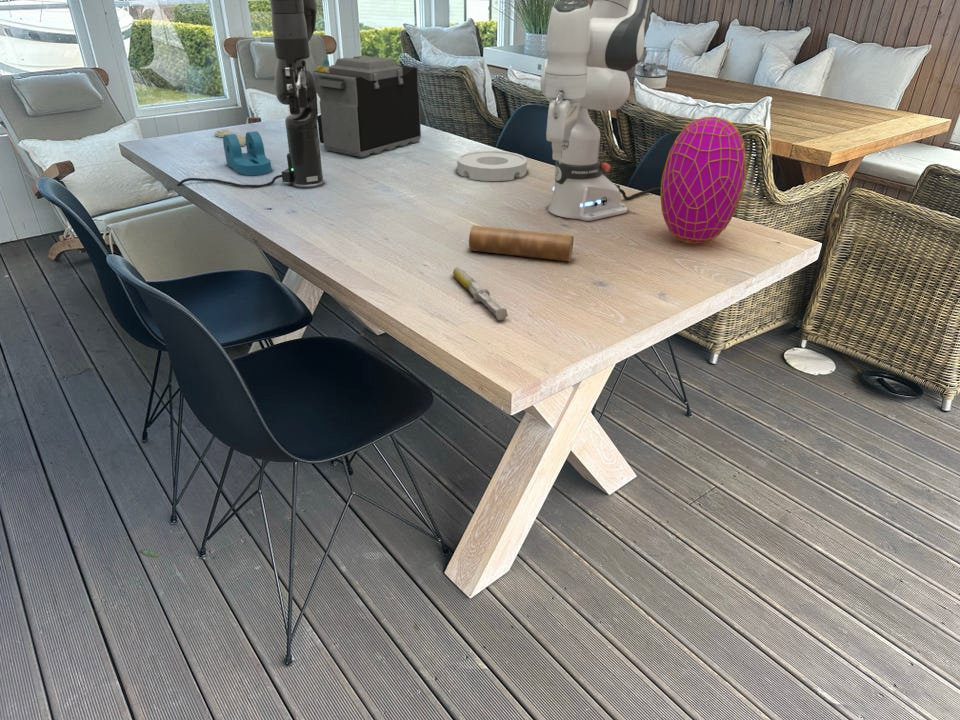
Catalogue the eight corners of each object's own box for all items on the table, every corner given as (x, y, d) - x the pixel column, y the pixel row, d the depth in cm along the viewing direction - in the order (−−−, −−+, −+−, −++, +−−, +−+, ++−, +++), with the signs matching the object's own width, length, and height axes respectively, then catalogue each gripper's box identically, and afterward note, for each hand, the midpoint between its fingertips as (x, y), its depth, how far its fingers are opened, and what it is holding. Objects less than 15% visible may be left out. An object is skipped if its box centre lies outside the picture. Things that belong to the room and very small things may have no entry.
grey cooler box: (383, 133, 276) (378, 52, 261) (425, 141, 265) (422, 56, 250) (314, 150, 251) (304, 61, 235) (358, 160, 240) (350, 67, 224)
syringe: (449, 274, 155) (449, 263, 153) (465, 272, 156) (464, 260, 154) (490, 323, 135) (491, 310, 133) (508, 319, 136) (508, 307, 134)
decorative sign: (264, 139, 260) (239, 143, 254) (265, 142, 261) (240, 146, 255) (233, 128, 277) (209, 131, 271) (233, 130, 277) (209, 134, 271)
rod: (468, 254, 166) (468, 230, 163) (475, 245, 171) (475, 222, 168) (568, 265, 160) (570, 241, 157) (572, 256, 165) (574, 232, 162)
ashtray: (459, 161, 239) (459, 150, 237) (525, 163, 239) (526, 151, 237) (455, 180, 219) (455, 167, 217) (527, 181, 219) (528, 169, 217)
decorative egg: (709, 261, 163) (734, 131, 148) (638, 240, 174) (655, 118, 159) (744, 240, 175) (770, 118, 160) (676, 222, 187) (694, 107, 171)
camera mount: (227, 164, 233) (221, 132, 227) (257, 160, 238) (252, 129, 233) (244, 176, 220) (239, 143, 215) (276, 172, 225) (271, 139, 220)
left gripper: (300, 38, 148) (309, 117, 156) (313, 32, 160) (320, 105, 169) (265, 38, 148) (276, 116, 156) (281, 32, 160) (290, 105, 169)
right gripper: (572, 96, 135) (567, 167, 142) (586, 81, 152) (581, 144, 159) (540, 94, 136) (537, 164, 143) (558, 79, 153) (554, 143, 160)
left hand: (299, 110), depth 163 cm, fingers open, 8 cm apart
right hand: (560, 154), depth 151 cm, fingers open, 8 cm apart
